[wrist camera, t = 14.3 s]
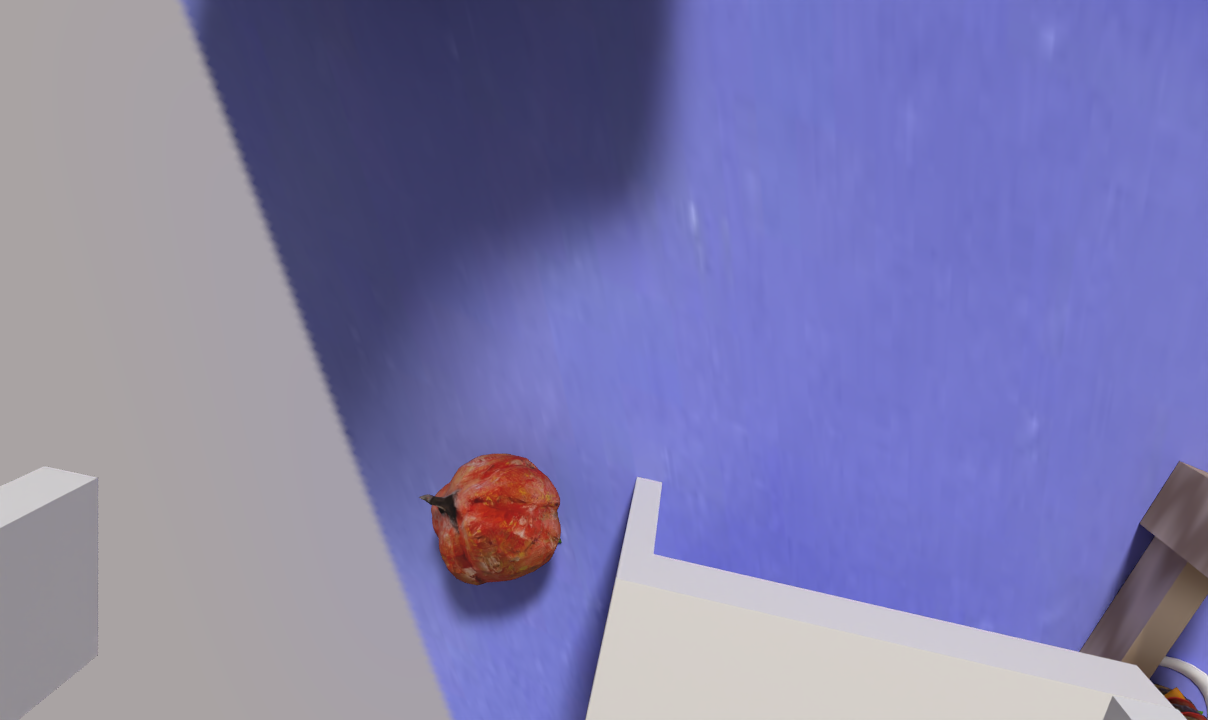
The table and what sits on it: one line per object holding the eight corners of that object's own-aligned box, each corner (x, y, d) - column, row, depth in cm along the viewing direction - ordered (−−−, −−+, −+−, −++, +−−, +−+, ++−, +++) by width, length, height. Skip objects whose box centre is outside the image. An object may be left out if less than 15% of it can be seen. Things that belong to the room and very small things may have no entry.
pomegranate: (593, 466, 49) (479, 400, 42) (619, 571, 44) (495, 515, 37) (506, 523, 51) (385, 469, 45) (522, 628, 46) (389, 585, 40)
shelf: (637, 476, 46) (616, 578, 35) (1051, 569, 44) (1175, 708, 33) (588, 705, 50) (554, 865, 38) (966, 798, 48) (1050, 994, 37)
